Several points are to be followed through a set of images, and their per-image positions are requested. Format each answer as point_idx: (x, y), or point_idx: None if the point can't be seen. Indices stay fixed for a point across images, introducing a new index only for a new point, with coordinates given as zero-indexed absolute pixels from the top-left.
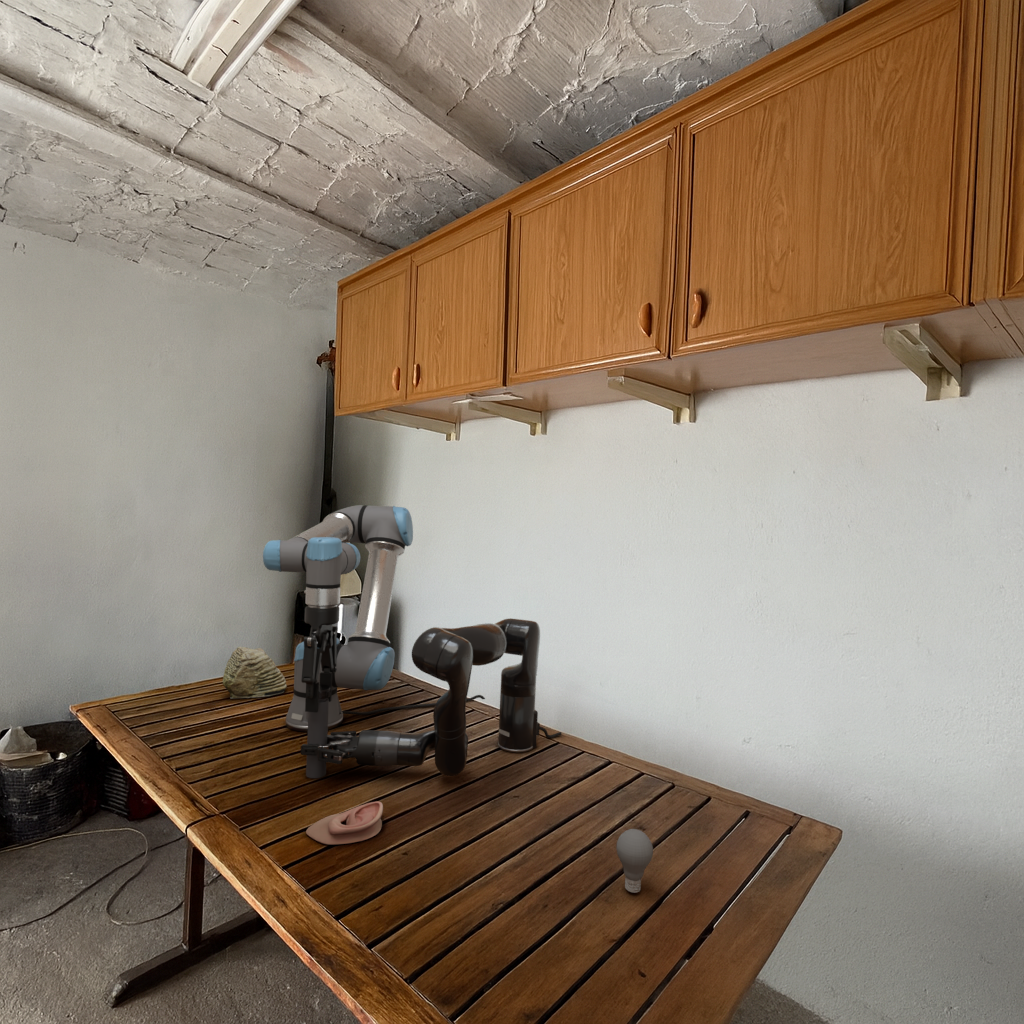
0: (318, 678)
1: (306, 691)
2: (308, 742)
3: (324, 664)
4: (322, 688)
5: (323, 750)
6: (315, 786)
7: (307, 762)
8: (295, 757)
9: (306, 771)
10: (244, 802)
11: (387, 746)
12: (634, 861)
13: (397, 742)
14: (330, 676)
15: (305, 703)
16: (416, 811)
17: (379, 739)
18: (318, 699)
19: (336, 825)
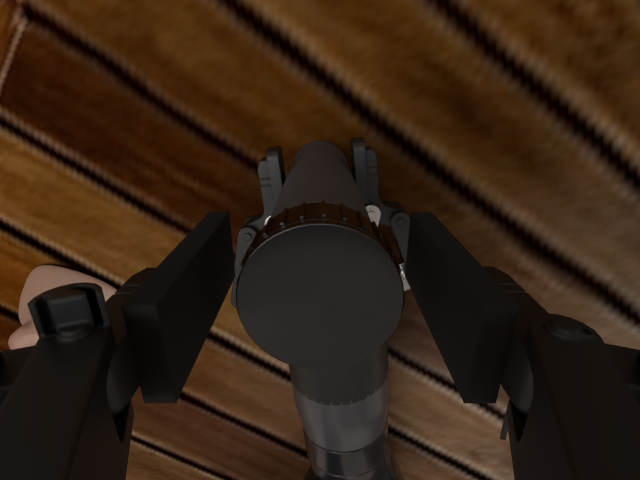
0: None
1: (162, 267)
2: (291, 170)
3: (534, 422)
4: (305, 329)
5: (237, 249)
6: (250, 196)
7: (296, 157)
8: (431, 48)
9: (302, 148)
10: (103, 43)
11: (299, 413)
12: None
13: (312, 440)
14: (457, 379)
15: (193, 229)
16: (204, 416)
17: (308, 404)
18: (215, 312)
19: (24, 344)
